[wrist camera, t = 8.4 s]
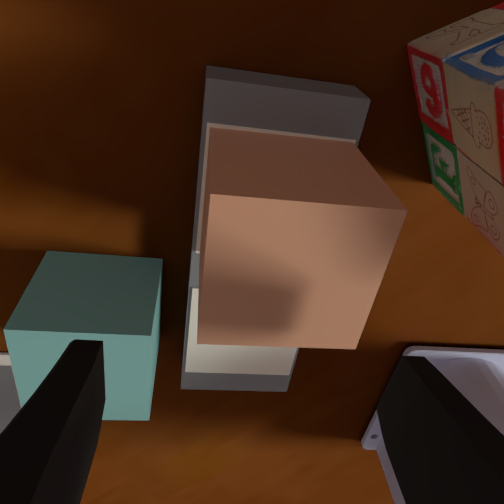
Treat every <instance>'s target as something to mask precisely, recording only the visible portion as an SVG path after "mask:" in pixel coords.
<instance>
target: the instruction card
mask: <svg viewBox="0 0 504 504" xmlns="http://www.w3.org/2000/svg"><path fill="white" fill-rule="evenodd" d="M21 408H22V407H21V403H20V399H19V395H18V390H17V386H16V382H15V378H14V373H13V369H12V365H11V360H10V356H9V353H4V352H0V433H1V432H2V431H3V430H4V429H5V428H6V426H7V425H8V424H9V423H10V422H11V420H12V419H13V418H14V417H15V415H16V414H17V413H18V412H19V411H20V409H21Z"/></svg>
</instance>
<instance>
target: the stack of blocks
mask: <svg viewBox="0 0 504 504" xmlns="http://www.w3.org/2000/svg"><path fill="white" fill-rule="evenodd" d="M407 51H408V56H409V62H410V67H411V73H412V79H413V84H414V90H415V95H416V100H417V106H418V111H419V117H420V119H421V121H422V126H423V132H424V138H425V143H426V149H427V155H428V161H429V167H430V172H431V179H432V183H433V185H434V186H435V187H436V188H437V189H438V190H439V191H440V192H441V194H442V195H443V196H444V197H445V198H446V199H447V200H448V201H449V202H450V203H451V204H452V205H453V206H454V207H455V208H456V209H457V210H458V211H459V212H460V213H461V214H462V215H463V216H466V217H467V218H468V220H469V221H470V222H471V223H472V224H473V225H474V226H475V227H476V228H477V229H478V231H479V232H480V233H481V234H482V235H483V236H484V237H485V238H486V239H487V240H488V241H489V242H490V243H491V244H492V245H493V246H494V247H495V248H496V249H497V251H498V252H499V253H500V254H501V255H502V256H503V257H504V2H503V3H500V4H498V5H496V6H493V7H491V8H489V9H486V10H482V11H480V12H478V13H475V14H473V15H471V16H468V17H466V18H464V19H461V20H459V21H456V22H454V23H452V24H450V25H447V26H445V27H443V28H440V29H438V30H436V31H433V32H431V33H429V34H426V35H424V36H422V37H419V38H417V39H415V40H413V41H411V42H409V43H408V44H407Z"/></svg>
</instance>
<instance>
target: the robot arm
mask: <svg viewBox="0 0 504 504" xmlns="http://www.w3.org/2000/svg"><path fill="white" fill-rule="evenodd" d="M105 400H106V396H105V373H104V350H103V341H100V340H80V339H74V340H73V341H71V342H70V343H69V345H68V346H67V348H66V349H65V351H64V352H63V354H62V355H61V357H60V358H59V359H58V361H57V362H56V364H55V365H54V367H53V368H52V369H51V371H50V372H49V373H48V375H47V376H46V377H45V379H44V380H43V381H42V383H41V384H40V385H39V387H38V388H37V389H36V391H35V392H34V393H33V394H32V396H31V397H30V398H29V399H28V401H27V402H26V403H25V404H24V406H23V407H22V408H21V409H20V411H19V412H18V413H17V414H16V415H15V417H14V418H13V419H12V420H11V422H10V423H9V424H8V425H7V426H6V428H5V429H4V430H3V431H2V432H1V433H0V504H80V501H81V498H82V495H83V491H84V488H85V485H86V481H87V478H88V474H89V471H90V468H91V464H92V461H93V457H94V454H95V450H96V447H97V443H98V438H99V433H100V428H101V422H102V417H103V411H104V406H105ZM361 444H362V447H363V448H364V449H367V450H376V451H377V453H378V456H379V459H380V462H381V465H382V468H383V471H384V474H385V477H386V480H387V483H388V485H389V488H390V491H391V494H392V497H393V500H394V503H395V504H504V350H499V349H477V348H454V347H431V346H410V347H408V348H407V349H406V350H405V351H404V353H403V355H402V356H401V358H400V360H399V362H398V364H397V366H396V368H395V370H394V372H393V374H392V376H391V378H390V380H389V382H388V384H387V386H386V388H385V390H384V392H383V394H382V396H381V398H380V400H379V402H378V404H377V406H376V411H375V413H374V415H373V417H372V419H371V421H370V424H369V426H368V428H367V430H366V432H365V434H364V436H363V438H362V440H361Z"/></svg>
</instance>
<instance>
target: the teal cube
mask: <svg viewBox="0 0 504 504" xmlns="http://www.w3.org/2000/svg"><path fill="white" fill-rule="evenodd" d="M162 269H163V259H160V258H146V257H131V256H117V255H102V254H88V253H74V252H59V251H47V252H46V254H45V256H44V258H43V259H42V261H41V263H40V265H39V266H38V268H37V270H36V272H35V274H34V275H33V277H32V279H31V281H30V283H29V284H28V286H27V288H26V290H25V292H24V293H23V295H22V297H21V299H20V301H19V302H18V304H17V306H16V308H15V310H14V311H13V313H12V315H11V317H10V318H9V320H8V322H7V324H6V326H5V327H4V329H3V331H4V335H5V339H6V343H7V348H8V352H9V356H10V360H11V365H12V369H13V373H14V378H15V382H16V386H17V390H18V395H19V399H20V403H21V407H23V406H24V404H25V403H26V402H27V401H28V399H29V398H30V397H31V396H32V394H33V393H34V392H35V391H36V389H37V388H38V387H39V385H40V384H41V383H42V381H43V380H44V379H45V377H46V376H47V375H48V373H49V372H50V371H51V369H52V368H53V367H54V365H55V364H56V362H57V361H58V359H59V358H60V357H61V355H62V354H63V352H64V351H65V349H66V348H67V346H68V345H69V343H70V342H71V341H73V340H74V339H80V340H100V341H103V350H104V373H105V396H106V400H105V406H104V411H103V417H102V420H143V421H149V419H150V411H151V403H152V395H153V388H154V380H155V372H156V364H157V356H158V349H159V341H160V323H161V296H162Z"/></svg>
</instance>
